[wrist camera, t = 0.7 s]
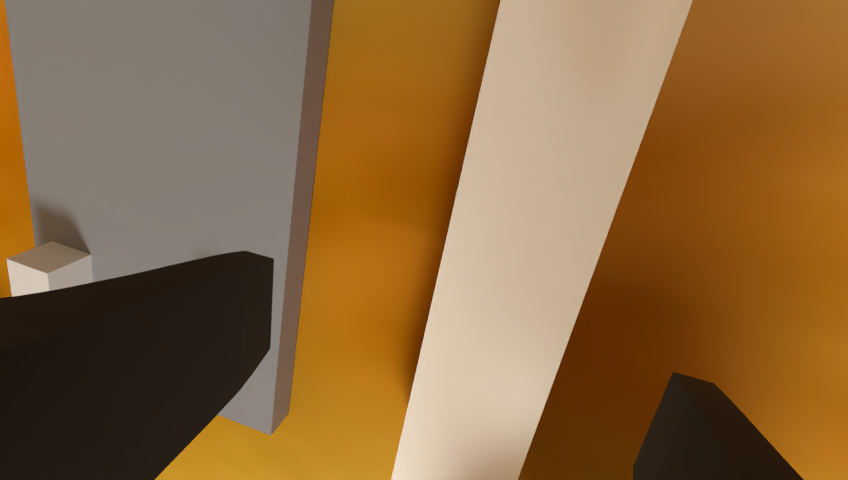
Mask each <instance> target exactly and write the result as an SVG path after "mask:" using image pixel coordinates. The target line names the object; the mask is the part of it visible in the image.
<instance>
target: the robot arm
mask: <svg viewBox="0 0 848 480" xmlns="http://www.w3.org/2000/svg"><path fill="white" fill-rule="evenodd" d="M273 272H274V259H273V258H270V257H266V256H263V255H259V254H256V253H252V252H249V251H238V252H231V253H225V254H219V255H214V256H210V257H205V258H200V259H196V260H191V261H187V262H183V263H178V264H174V265H170V266H166V267H161V268H157V269H153V270H148V271H144V272H140V273H135V274H131V275H126V276H121V277H117V278H112V279H107V280H102V281H97V282H92V283H87V284H82V285H77V286H72V287H67V288H63V289H57V290H51V291H46V292H39V293H33V294H27V295H21V296H13V297H6V298H0V480H154V479H155V478H156V477H157V476H158V475H159V474H160V473H161V472H162V471H163V470H164V469H165V468H166V467H167V466H168V465H169V464H170V463H171V462H172V461H173V460H174V459H175V458H176V457H177V456H178V455H179V454H180V453H181V452H182V451H183V450H184V448H185V447H186V446H187V445H188V444H189V443H190V442H191V441H192V440H193V439H194V438H195V437H196V436H197V435H198V434H199V433H200V432H201V431H202V430H203V429H204V428H205V427H206V426H207V425H208V424H209V423H210V422H211V421H212V420H213V419H214V417H215V416H216V415H217V414H218V413H219V412H220V411H221V410H222V409H223V408H224V407H225V406H226V405H227V404H228V403H229V402H230V401H231V400H232V398H233V397H234V396H235V395H236V394H237V393H238V392H239V391H240V390H241V388H242V387H243V386H244V384H245V383H246V382H247V380H248V379H249V378H250V377H251V375H252V374H253V373H254V371H255V370H256V368H257V367H258V366H259V364H260V363H261V361H262V360H263V358H264V357H265V355H266V354H267V353H268V351H269V350H270V345H271V320H272V296H273ZM633 480H803V479H802V478H801V476H800V475H799V474H798V473H797V472H796V471H795V470H794V469H793V468H792V467H791V466H790V465H789V464H788V462H787V461H786V460H785V459H784V458H783V457H782V456H781V455H780V454H779V453H778V452H777V450H776V449H775V448H774V447H773V446H772V445H771V444H770V443H769V442H768V441H767V439H766V438H765V437H764V436H763V435H762V434H761V433H760V432H759V431H758V430H757V428H756V427H755V426H754V425H753V424H752V423H751V422H750V421H749V420H748V418H747V417H746V416H745V415H744V414H743V413H742V412H741V411H740V410H739V409H738V408H737V407H736V405H735V404H734V403H733V402H732V401H731V400H730V399H729V398H728V397H727V396H726V395H725V394H724V393H723V392H722V391H721V390H720V389H719V388H718V387H717V386H716V385H715V384H714V383H710V382H707V381H703V380H700V379H696V378H693V377H689V376H686V375H682V374H679V373H675V372H673V374H672V376H671V378H670V381H669V383H668V386H667V388H666V390H665V393H664V395H663V397H662V400H661V402H660V405H659V407H658V409H657V412H656V414H655V416H654V419H653V421H652V423H651V426H650V428H649V431H648V433H647V435H646V438H645V440H644V442H643V445H642V447H641V450H640V452H639V454H638V457H637V459H636V461H635V464H634V475H633Z"/></svg>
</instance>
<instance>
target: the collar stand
mask: <svg viewBox="0 0 848 480" xmlns="http://www.w3.org/2000/svg"><path fill="white" fill-rule="evenodd" d="M333 2H334V0H5V6H6V14H7V22H8V30H9V38H10V46H11V54H12V62H13V70H14V78H15V86H16V94H17V102H18V111H19V119H20V127H21V135H22V143H23V151H24V159H25V167H26V175H27V183H28V191H29V199H30V207H31V216H32V224H33V232H34V240H35V248H34V249H31V250H28V251H26V252H23V253H20V254H18V255H15V256H13V257H10V258H7V266H8V272H9V279H10V286H11V292H12V297H13V296H21V295H27V294H33V293H39V292H46V291H51V290H57V289H63V288H67V287H72V286H77V285H82V284H87V283H92V282H97V281H102V280H107V279H112V278H117V277H121V276H126V275H131V274H135V273H140V272H144V271H148V270H153V269H157V268H161V267H166V266H170V265H174V264H178V263H183V262H187V261H191V260H196V259H200V258H205V257H210V256H214V255H219V254H225V253H231V252H238V251H249V252H252V253H256V254H259V255H263V256H266V257H270V258H273V259H274V272H273V296H272V320H271V345H270V350H269V351H268V353H267V354H266V355H265V357H264V358H263V360H262V361H261V363H260V364H259V366H258V367H257V368H256V370H255V371H254V373H253V374H252V375H251V377H250V378H249V379H248V380H247V382H246V383H245V384H244V386H243V387H242V388H241V390H240V391H239V392H238V393H237V394H236V395H235V396H234V397H233V398H232V400H231V401H230V402H229V403H228V404H227V405H226V406H225V407H224V408H223V409H222V410H221V411H220V412H219V413H218V415H220V416H223V417H225V418H228V419H230V420H233V421H235V422H238V423H240V424H243V425H245V426H248V427H251V428H253V429H256V430H258V431H261V432H263V433H266V434H268V435H272V433H273V432H274V431H275V430H276V428H277V427H278V426H279V424H280V423H281V422H282V421H283V419H284V418H285V417H286V416H287V414H288V412H289V403H290V394H291V384H292V375H293V366H294V357H295V348H296V339H297V330H298V321H299V312H300V302H301V293H302V284H303V275H304V266H305V257H306V248H307V239H308V230H309V221H310V211H311V202H312V193H313V184H314V175H315V166H316V157H317V148H318V139H319V129H320V120H321V111H322V102H323V93H324V84H325V75H326V66H327V57H328V48H329V38H330V29H331V20H332V11H333Z"/></svg>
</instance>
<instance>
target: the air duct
mask: <svg viewBox="0 0 848 480" xmlns="http://www.w3.org/2000/svg"><path fill="white" fill-rule="evenodd" d="M692 1H693V0H500V5H499V9H498V14H497V18H496V22H495V27H494V31H493V35H492V40H491V44H490V49H489V53H488V57H487V62H486V66H485V71H484V75H483V79H482V84H481V88H480V92H479V97H478V101H477V106H476V110H475V114H474V119H473V123H472V128H471V132H470V136H469V141H468V145H467V150H466V154H465V158H464V163H463V167H462V171H461V176H460V180H459V185H458V189H457V193H456V198H455V202H454V207H453V211H452V215H451V220H450V224H449V228H448V233H447V237H446V242H445V246H444V250H443V255H442V259H441V264H440V268H439V272H438V277H437V281H436V285H435V290H434V294H433V299H432V303H431V307H430V312H429V316H428V321H427V325H426V329H425V334H424V338H423V343H422V347H421V351H420V356H419V360H418V364H417V369H416V373H415V378H414V382H413V386H412V391H411V395H410V400H409V404H408V408H407V413H406V417H405V421H404V426H403V430H402V435H401V439H400V443H399V448H398V452H397V457H396V461H395V465H394V470H393V474H392V478H391V480H518V477H519V475H520V472H521V469H522V467H523V464H524V461H525V458H526V456H527V453H528V450H529V447H530V445H531V442H532V439H533V436H534V434H535V431H536V428H537V425H538V423H539V420H540V417H541V415H542V412H543V409H544V406H545V404H546V401H547V398H548V395H549V393H550V390H551V387H552V384H553V382H554V379H555V376H556V373H557V371H558V368H559V365H560V363H561V360H562V357H563V354H564V352H565V349H566V346H567V343H568V341H569V338H570V335H571V332H572V330H573V327H574V324H575V321H576V319H577V316H578V313H579V311H580V308H581V305H582V302H583V300H584V297H585V294H586V291H587V289H588V286H589V283H590V280H591V278H592V275H593V272H594V269H595V267H596V264H597V261H598V259H599V256H600V253H601V250H602V248H603V245H604V242H605V239H606V237H607V234H608V231H609V228H610V226H611V223H612V220H613V217H614V215H615V212H616V209H617V206H618V204H619V201H620V198H621V196H622V193H623V190H624V187H625V185H626V182H627V179H628V176H629V174H630V171H631V168H632V165H633V163H634V160H635V157H636V154H637V152H638V149H639V146H640V144H641V141H642V138H643V135H644V133H645V130H646V127H647V124H648V122H649V119H650V116H651V113H652V111H653V108H654V105H655V102H656V100H657V97H658V94H659V92H660V89H661V86H662V83H663V81H664V78H665V75H666V72H667V70H668V67H669V64H670V61H671V59H672V56H673V53H674V50H675V48H676V45H677V42H678V40H679V37H680V34H681V31H682V29H683V26H684V23H685V20H686V18H687V15H688V12H689V9H690V7H691V4H692Z"/></svg>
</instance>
